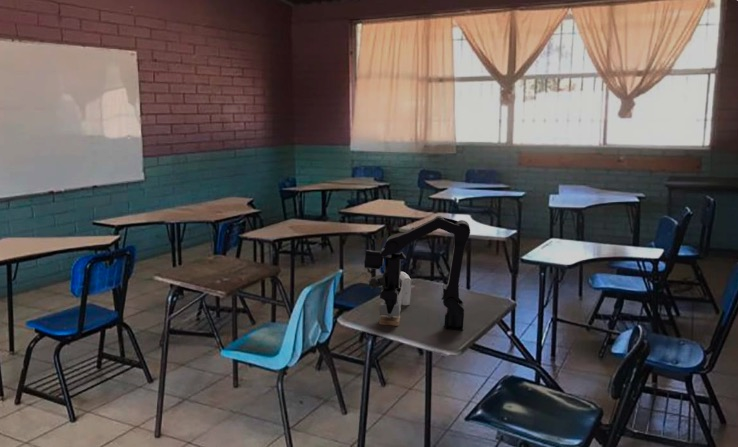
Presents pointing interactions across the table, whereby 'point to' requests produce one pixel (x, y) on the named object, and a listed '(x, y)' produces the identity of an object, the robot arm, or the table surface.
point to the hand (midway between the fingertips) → (390, 310)
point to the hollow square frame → (394, 312)
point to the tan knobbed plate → (389, 320)
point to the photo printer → (405, 289)
